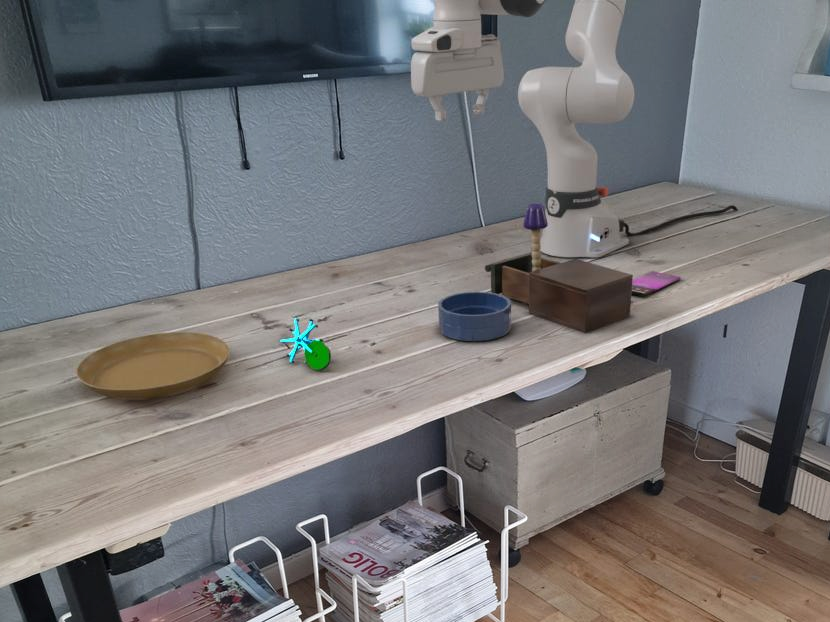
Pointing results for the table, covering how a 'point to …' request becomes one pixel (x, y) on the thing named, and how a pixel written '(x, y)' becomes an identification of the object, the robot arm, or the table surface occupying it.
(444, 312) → the bowl
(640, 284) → the smartphone
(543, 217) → the toy lamp
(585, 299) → the cabinet
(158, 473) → the table surface
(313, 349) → the stick construction toy
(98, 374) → the plant saucer
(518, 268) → the drawer
